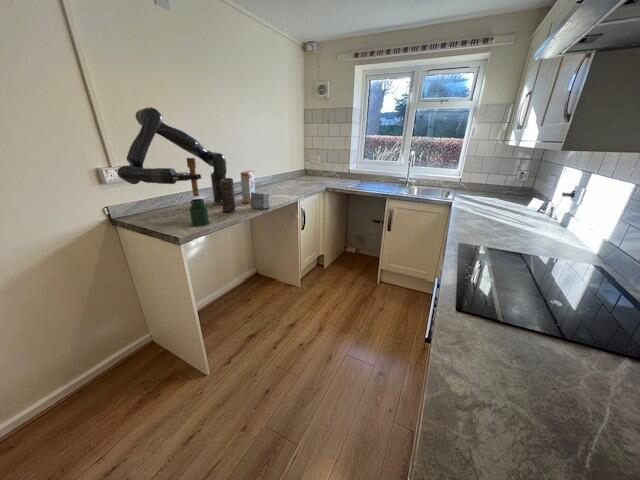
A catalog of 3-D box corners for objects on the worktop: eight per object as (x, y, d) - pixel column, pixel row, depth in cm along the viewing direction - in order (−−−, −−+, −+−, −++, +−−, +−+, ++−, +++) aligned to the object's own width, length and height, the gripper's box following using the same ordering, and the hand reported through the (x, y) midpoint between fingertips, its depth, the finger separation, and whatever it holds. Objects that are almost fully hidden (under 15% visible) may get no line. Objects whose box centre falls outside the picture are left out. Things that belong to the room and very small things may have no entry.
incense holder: (270, 207, 171) (269, 191, 168) (263, 210, 164) (262, 194, 160) (257, 205, 174) (256, 190, 171) (250, 208, 167) (249, 192, 163)
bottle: (201, 220, 143) (197, 197, 138) (212, 222, 140) (209, 199, 135) (188, 224, 136) (184, 200, 131) (200, 226, 133) (196, 202, 128)
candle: (238, 210, 162) (235, 178, 155) (230, 213, 156) (227, 180, 148) (228, 209, 164) (224, 177, 157) (220, 212, 158) (216, 179, 150)
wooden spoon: (193, 195, 133) (188, 157, 126) (200, 195, 133) (195, 158, 126) (191, 196, 131) (185, 158, 124) (198, 196, 131) (193, 158, 124)
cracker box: (251, 203, 180) (248, 172, 172) (242, 203, 180) (239, 172, 172) (256, 199, 193) (254, 170, 185) (248, 198, 193) (245, 170, 185)
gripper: (154, 169, 120) (192, 170, 121) (169, 166, 133) (203, 167, 134) (157, 186, 123) (194, 187, 124) (172, 181, 136) (205, 182, 137)
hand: (199, 176), depth 129 cm, fingers closed on wooden spoon, 2 cm apart
